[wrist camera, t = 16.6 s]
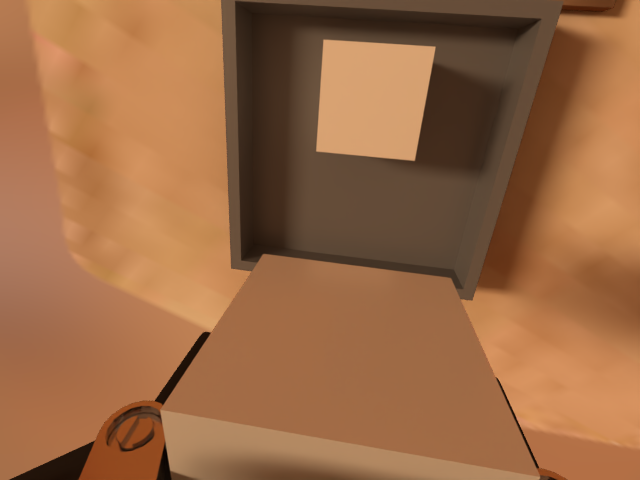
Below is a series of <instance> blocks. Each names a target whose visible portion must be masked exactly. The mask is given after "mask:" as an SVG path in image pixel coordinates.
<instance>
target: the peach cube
mask: <svg viewBox="0 0 640 480" xmlns="http://www.w3.org/2000/svg"><path fill="white" fill-rule="evenodd" d="M435 48H436V47H432V46H416V45H401V44H385V43H370V42H354V41H338V40H323V56H322V71H321V86H320V101H319V116H318V132H317V147H316V151H317V152H327V153H338V154H348V155H359V156H369V157H380V158H390V159H401V160H411V161H415V156H416V151H417V146H418V140H419V135H420V129H421V124H422V118H423V113H424V108H425V102H426V97H427V91H428V86H429V80H430V75H431V69H432V64H433V59H434V53H435Z"/></svg>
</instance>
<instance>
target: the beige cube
mask: <svg viewBox="0 0 640 480" xmlns="http://www.w3.org/2000/svg"><path fill="white" fill-rule="evenodd" d="M160 411H161V418H162V424H163V430H164V436H165V442H166V448H167V454H168V460H169V466H170V472H171V478H172V480H539V479H540V475H539V473H538V470H537V468H536V466H535V464H534V462H533V459H532V457H531V455H530V453H529V450H528V448H527V446H526V444H525V442H524V439H523V437H522V435H521V433H520V430H519V428H518V426H517V424H516V422H515V419H514V417H513V415H512V413H511V410H510V408H509V406H508V404H507V402H506V399H505V397H504V395H503V393H502V390H501V388H500V386H499V384H498V382H497V379H496V377H495V375H494V373H493V370H492V368H491V366H490V364H489V362H488V359H487V357H486V355H485V353H484V350H483V348H482V346H481V344H480V342H479V339H478V337H477V335H476V333H475V330H474V328H473V326H472V324H471V322H470V319H469V317H468V315H467V313H466V310H465V308H464V306H463V304H462V302H461V299H460V297H459V295H458V293H457V290H456V288H455V286H454V284H453V282H452V279H451V278H447V277H439V276H432V275H424V274H416V273H408V272H401V271H393V270H385V269H377V268H369V267H362V266H354V265H346V264H338V263H331V262H323V261H315V260H307V259H300V258H292V257H284V256H276V255H269V254H263V255H262V257H261V258H260V260H259V261H258V263H257V264H256V266H255V267H254V269H253V270H252V272H251V273H250V275H249V276H248V278H247V279H246V281H245V282H244V284H243V286H242V287H241V289H240V290H239V292H238V293H237V295H236V296H235V298H234V299H233V301H232V302H231V304H230V305H229V307H228V308H227V310H226V311H225V313H224V314H223V316H222V317H221V319H220V320H219V322H218V323H217V325H216V326H215V328H214V329H213V331H212V332H211V334H210V335H209V337H208V338H207V340H206V341H205V343H204V344H203V346H202V347H201V349H200V350H199V352H198V353H197V355H196V357H195V358H194V360H193V361H192V363H191V364H190V366H189V367H188V369H187V370H186V372H185V373H184V375H183V376H182V378H181V379H180V381H179V382H178V384H177V385H176V387H175V388H174V390H173V391H172V393H171V394H170V396H169V397H168V399H167V400H166V402H165V403H164V405H163V406H162V408H161V409H160Z"/></svg>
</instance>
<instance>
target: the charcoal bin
mask: <svg viewBox="0 0 640 480" xmlns="http://www.w3.org/2000/svg"><path fill="white" fill-rule="evenodd" d="M563 2H564V1H556V0H221V8H222V35H223V61H224V88H225V115H226V142H227V169H228V196H229V223H230V250H231V269H239V270H246V271H252V270H253V269H254V267H255V266H256V264H257V263H258V261H259V260H260V258H261V257H262V255H263V254H269V255H276V256H284V257H292V258H300V259H307V260H315V261H323V262H331V263H338V264H346V265H354V266H362V267H369V268H377V269H385V270H393V271H401V272H408V273H416V274H424V275H432V276H439V277H447V278H451V279H452V282H453V284H454V286H455V288H456V290H457V293H458V295H459V297H460V299H465V300H473V297H474V293H475V290H476V287H477V283H478V280H479V277H480V274H481V270H482V267H483V264H484V261H485V257H486V254H487V251H488V247H489V244H490V241H491V238H492V234H493V231H494V228H495V225H496V221H497V218H498V215H499V212H500V208H501V205H502V202H503V198H504V195H505V192H506V189H507V185H508V182H509V179H510V176H511V172H512V169H513V166H514V162H515V159H516V156H517V153H518V149H519V146H520V143H521V140H522V136H523V133H524V130H525V127H526V123H527V120H528V117H529V113H530V110H531V107H532V104H533V100H534V97H535V94H536V91H537V87H538V84H539V81H540V77H541V74H542V71H543V68H544V64H545V61H546V58H547V55H548V51H549V48H550V45H551V42H552V38H553V35H554V32H555V28H556V25H557V22H558V19H559V15H560V12H561V9H562V6H563ZM323 40H338V41H354V42H370V43H385V44H401V45H416V46H432V47H436V48H435V53H434V59H433V64H432V69H431V75H430V80H429V86H428V91H427V97H426V102H425V108H424V113H423V118H422V124H421V129H420V135H419V140H418V146H417V151H416V156H415V161H411V160H401V159H390V158H380V157H369V156H359V155H348V154H338V153H327V152H317V151H316V147H317V132H318V116H319V101H320V86H321V71H322V56H323Z"/></svg>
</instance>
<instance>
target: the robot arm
mask: <svg viewBox="0 0 640 480" xmlns="http://www.w3.org/2000/svg"><path fill="white" fill-rule="evenodd" d="M210 334H211V333H210V332H204V333H202V335H201V336H200V337H199V338H198V339H197V341H196V342H195V344H194V346H193V347H192V348H191V350H190V351H189V352H188V354H187V355H186V357H185V358H184V360H183V361H182V362H181V364H180V365H179V367H178V368H177V370H176V371H175V372H174V374H173V375H172V377H171V378H170V380H169V381H168V383H167V384H166V385H165V387H164V388H163V390H162V391H161V392H160V394H159V396H158V397H157V398H156V400H155V401H139V402H135V403H131V404H129V405H127V406H125V407H122V408H121V409H119V410H118V411H116V412H115V413H114V414H112V415H111V416H110V417H109V418H108V419H107V421H105V422H104V424H103V426H102V427H101V429H100V431H99V433H98V435H97V437H96V440H95V441H93V442H91V443H89V444H87V445H85V446H82V447H80V448H78V449H76V450H73V451H71V452H69V453H67V454H65V455H63V456H60V457H58V458H56V459H54V460H52V461H49V462H47V463H45V464H43V465H41V466H38V467H36V468H34V469H32V470H30V471H27V472H25V473H23V474H21V475H19V476H16V477H14V478H12V479H10V480H172V478H171V472H170V466H169V460H168V454H167V448H166V442H165V436H164V430H163V424H162V418H161V411H160V409H161V408H162V406H163V405H164V403H165V402H166V400H167V399H168V397H169V396H170V394H171V393H172V391H173V390H174V388H175V387H176V385H177V384H178V382H179V381H180V379H181V378H182V376H183V375H184V373H185V372H186V370H187V369H188V367H189V366H190V364H191V363H192V361H193V360H194V358H195V357H196V355H197V353H198V352H199V350H200V349H201V347H202V346H203V344H204V343H205V341H206V340H207V338H208V337H209V335H210ZM496 379H497V382H498V384H499V386H500V388H501V390H502V393H503V395H504V397H505V399H506V402H507V404H508V406H509V408H510V410H511V413H512V415H513V417H514V419H515V422H516V424H517V426H518V428H519V430H520V433H521V435H522V437H523V439H524V442H525V444H526V446H527V448H528V450H529V453H530V455H531V457H532V459H533V462H534V464H535V466H536V468H537V470H538V473H539V475H540V479H539V480H567V479H566V478H564V477H562V476H560V475H559V474H557V473H555V472H552V471H549V470H546V469H542V468H539V466H538V464H537V462H536V460H535V458H534V456H533V453H532V452H531V449H530V447H529V445H528V443H527V440H526V438H525V436H524V434H523V432H522V429H521V427H520V425H519V423H518V421H517V418H516V416H515V414H514V412H513V410H512V407H511V405H510V403H509V401H508V399H507V397H506V394H505V392H504V390H503V388H502V386H501V383H500V382H499V380H498V378H497V377H496Z"/></svg>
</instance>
